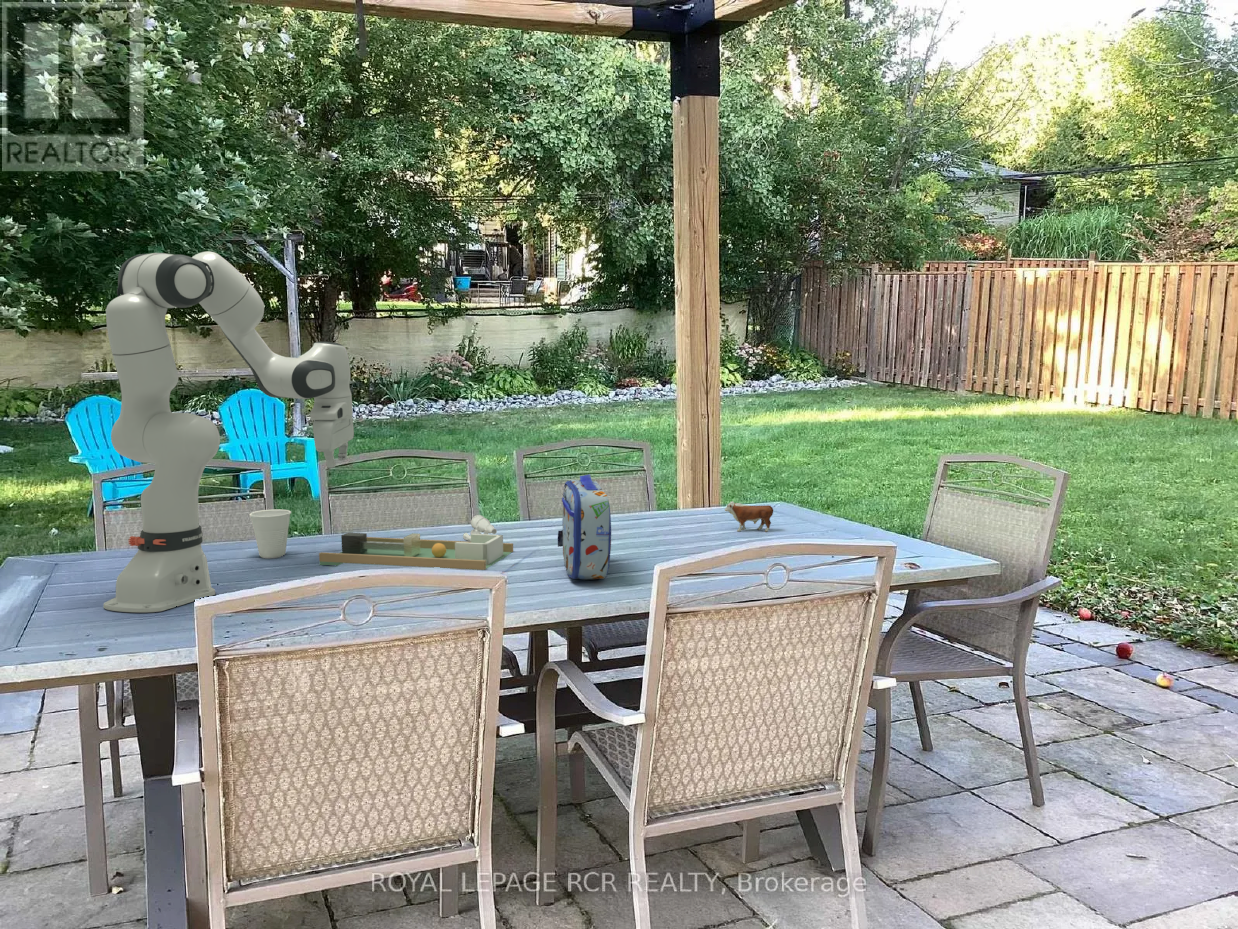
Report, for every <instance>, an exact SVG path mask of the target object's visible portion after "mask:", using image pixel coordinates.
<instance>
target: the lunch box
mask: <svg viewBox="0 0 1238 929" xmlns="http://www.w3.org/2000/svg"><path fill="white" fill-rule="evenodd" d="M563 485H564V486H563V492H561V496H562V498H561V502H562V507H563V508H562V523H561V524H562V529H560V530H558V532H557V547H558V548H559V547H562V555H563V556H562V558H563V563H564V568H565V571H566V573H567V576H568V577H569V578H570V579H572V580H575V579H576V580H601V579H602V580H604V579H605V578H606V577H607V575H608V572H609V569H610V562H611V561H610V560H611V551H612V518H611V506H610V502H609V497H608V495H607V493H606V492H605V490H603V488H602V487H601V486H600V484H599V483H598V481H597V480H592V477H591V474H585V475H580V476H579V480H578V479H577V480H576V479H570V480H567V481H565V483H564V484H563Z"/></svg>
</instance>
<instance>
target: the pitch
mask: <svg viewBox="0 0 1238 929" xmlns="http://www.w3.org/2000/svg"><path fill="white" fill-rule="evenodd" d="M367 541H373V542H395V543H404V538H398V537H396V538H395V537H377V536H373V537H372V536H367ZM456 542H467V543H471V541H467V540H464V541H463V540H462V541H461V540H446V539H445V540H442V539H423V538H422V539H421V538H420V549H421V553H419V554H417V555H415V556H413V557H406V556H404V551H398V550H377V549H367V552H364V553H362V554H347V553H342V551H340V552H324V551H323V552H319V553H318V558H319V561H318V562H319V563H318V564H319V566H320V565H336V566H335V567H338V566H340V565H343V564H357V565H358V564H361V565H374V566H376V565H377V566H378V565H379V566H380V565H381V566H395V567H396V566H397V567H398V566H399V567H415V568H417V567H418V568H434V567H440V568H439V569H457V570H458V569H459V570H477V571H486V570H487V569H489V568H490V567H492V566H493V565H494V564H496V563H498V562H500V561H501V560H502V559H504V558H505V557H507V556H509V555H510V554H512V553H513V552H514V543H510V542H509V543H508V542H503V556H501V557H500V558H498V559H496V560H495V561H493V562H492V563H490V564H489V565H486V560H467V559H455V543H456ZM437 543H442V544H443V545H445V547H446V553H445V555H444V556H443V557H435V556H434V555H433V554H432V547H433V546H434V545H435V544H437Z"/></svg>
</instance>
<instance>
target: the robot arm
mask: <svg viewBox="0 0 1238 929" xmlns="http://www.w3.org/2000/svg"><path fill="white" fill-rule="evenodd" d="M116 294H117V297H115V298H113V299H112V300H111V301H109V302H108V304H107V306H106V309H105V318H106V319H105V321H106V330H107V337H108V341H109V346H110V350H111V354H112V357H113V361H114V366H115V369H116V373H117V378H118V381H119V385H120V392H121V405H120V414H119V417H118V419H117V420H116V421H115V422H114V424H113V426H112V429H111V432H110V439H111V441H110V442H111V444H112V446H113V448H114V450H115V452H117V453H118V454H119V455H120V456H122V457H123V458H126V459H129V460H133V461H135V462H138V463H143V464H144V463H146V464H154V466H155V467H154V468H155V469H154V474H153V477H152V480H151V482H150V484H149V485H148V486H147V487H146V488H144V489H143V491H142V492H141V494H140V508H141V509H140V510H141V523H142V530H141V531H140V535H139V536H133V535H131V536H130V537H129V538H128V540H127V542H128V545H129V546H130V547H134V546H137V549H138V550H137V551H136V553H135V554H134V556H133V557H132V558H131V559H130V561H129V562H128V563H127V565H126V566H125V567H124V568H123V569H122V571H121V572H120V573H119V574H118V576H117V577H116V580H115V581H116V583H115V597H113V598H111V599H109V600H107V601H105V602H103V606H102V608H103V609H105V610H108V611H113V612H123V613H155V612H156V613H157V612H163V611H166V610H169V609H173V608H175V607H176V606H177V607H180V606H183V605H186V604H189V603H192V602H195V601H194V600H195V599H198V598H200V597H205V596H209V597H212V596H214V595H216V589H215V588H213V587H212V583H211V575H210V572H209V564H208V559H207V556H206V554H205V552H204V551H203V548H202V543H203V530H202V526H201V525H200V517H199V516H200V513H199V511H200V510H199V490H200V483H201V481H202V480H201V479H202V476H203V473H204V470H205V469H206V466H207V465H208V464H209V462H210V461H212V459H213V458H214V457H216V454H217V453H218V451H219V448H220V443H221V436H220V432H219V429H218V427H217V425H216V424H215V423H214V421H212V420H211V419H209V418H207V417H203V416H201V415H198V414H193V413H189V412H174V411H173V412H172V410H171V408H170V407H171V406H170V398H171V391H172V390H174V388H175V387H177V385H178V382H179V373H178V367H177V365H176V362H175V357H174V354H173V353H174V352H173V350H172V346H171V342H170V339H169V335H168V332H167V329H166V328H167V327H166V315H167V312H168V309H174V308H178V309H179V308H180V309H185V308H189V307H192V306H193V307H194V306H196V305H197V304H199V305H200V306H201V307H202V309H204V311H205V312H206V313H207V314H208V315H209V316H210V317H211V318H212V320H213V321H214V322H215V323H216V324H217V325H218V327H219V328H220V329H221V331H222V333H223V335H224V336H225V337H226V339H227V340H228V342H229V343H230V345H232V346H233V348H234V350H235V351H236V352H237V353H238V355H240V357H241V358H242V359H243V361H244V362H245V363H246V365H247V366H248V367H249V369H250V370H251V371H252V374H253V377H254V379H255V381H256V384H257V386H258V389H259V390H260V391H262V393H263V394H264V395H266V396H268V397H270V398H275V399H277V398H278V399H279V398H287V399H288V398H289V399H298V400H299V399H300V400H310V399H313V400H314V401H313V402H314V403H313V405H312V406H313V407H312V409H310V412H309V418H310V420H311V421H313V422H312V431H313V438H314V447H315V449H316V451H317V452H318V453H323V456H324V459H325V461H326V468H327V469H333V468H335V467H336V466H337V464H336V459H335V456H334V454H335V450H336V449H338V454H337V457H338V458H337V459H338V461H343V462H344V461H346V460H347V459H348V454H347V453H348V448H349V441H351V440H353V439H354V435H355V431H354V430H355V429H354V428H355V427H354V421H353V415H354V414H353V397H352V395H353V394H352V391H351V388H350V383H351V366H350V359H349V358H350V357H349V353H348V351H347V349H346V347H345V346H344V345H343V344H341V343H339V342H338V343H337V342H330V341H329V342H328V341H316V342H314V343H313V345H312V347H311V348H309V350H307V351H306V352H304V353H303V354H301V355H299V356H298V357H292V356H291V357H290V356H289V357H288V356H283V355H280V354H279V353H275V352H273V351H272V349H271V348H270V347H269V345H267V343H266V342H265V340H264V339H263V338H262V337H261V335H260V334H259V332H258V331H257V330H256V328H257V326H258V325H259V324H260V323H261V321H262V319H263V317H264V313H265V303H264V301H263V300H262V298H261V296H260V294H259V293H258V291H257V290H256V288H254V286H253V285H252V284H251V283H250V282H249V281H248V280H247V278H245V276H244V275H243V274H242V273H241V272H240V271H239V270H238V269H237V268H236V267H234V266H233V265H232V264H231V263H230V262H229V261H227V259H225V258H224V257H222V256H221V255H220V254H219V253H217V252H214V251H209V250H208V251H201V252H199V253H196V254H194V255H193V256H192V257H191V256H189V255H184V254H172V253H165V252H153V253H142V254H141V253H139V254H136V255H134V256H132V257H130V258H128V259H126V260H125V261H124V262H123V263H122V265H121V266H120V268H119V272H118V274H117V290H116Z"/></svg>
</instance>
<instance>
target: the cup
mask: <svg viewBox="0 0 1238 929" xmlns="http://www.w3.org/2000/svg"><path fill="white" fill-rule="evenodd" d="M291 514H292V511H291V510H289V509H279V508H278V509H263V510H261V509H260V510H256V511H252V512H250V513H249V514H248V515H249V517H250V521H251V525H252V528H253V529H252V530H253V531H254V532H253V533H254V537H255V541H256V545H257V546H256V547H257V551H258V554H259V557H260V558H262V559H277V558H278V559H279V558H282V557H284V556H285V555H286V553H287V552H286V550H287V543H288V535H289V534H288V533H289V527H290V526H289V525H290V518H291ZM283 555H284V556H283ZM281 556H282V557H281Z"/></svg>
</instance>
